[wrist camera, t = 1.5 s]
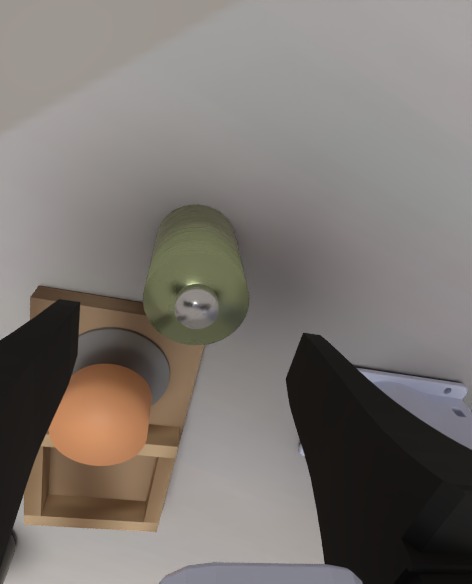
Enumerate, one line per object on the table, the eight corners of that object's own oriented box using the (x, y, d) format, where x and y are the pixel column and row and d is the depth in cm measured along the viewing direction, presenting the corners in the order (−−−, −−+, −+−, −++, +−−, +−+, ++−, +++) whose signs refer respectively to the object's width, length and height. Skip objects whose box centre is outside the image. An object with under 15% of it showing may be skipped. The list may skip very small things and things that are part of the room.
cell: (244, 214, 20) (264, 272, 14) (225, 284, 22) (236, 361, 16) (163, 196, 19) (149, 250, 13) (151, 270, 21) (134, 346, 15)
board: (208, 313, 22) (210, 342, 20) (159, 510, 31) (156, 546, 28) (38, 285, 21) (18, 313, 18) (34, 501, 29) (19, 540, 26)
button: (158, 370, 20) (153, 405, 18) (145, 431, 22) (140, 469, 20) (66, 357, 19) (50, 393, 17) (62, 423, 21) (47, 461, 19)
